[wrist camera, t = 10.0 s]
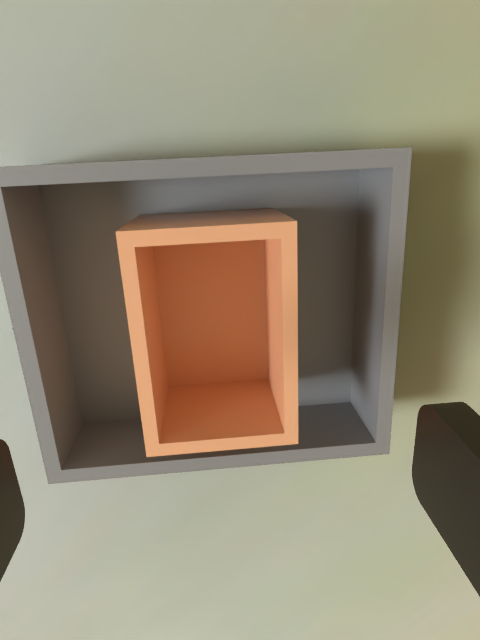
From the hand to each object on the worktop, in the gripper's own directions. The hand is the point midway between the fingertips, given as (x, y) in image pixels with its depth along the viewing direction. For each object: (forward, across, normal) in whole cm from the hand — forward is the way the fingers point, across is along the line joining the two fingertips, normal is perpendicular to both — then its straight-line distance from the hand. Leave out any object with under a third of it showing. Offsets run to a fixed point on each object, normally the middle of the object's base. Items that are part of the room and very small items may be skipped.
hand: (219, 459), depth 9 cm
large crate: (+12, 0, 0) cm, 12 cm away
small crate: (+11, 0, 0) cm, 11 cm away
